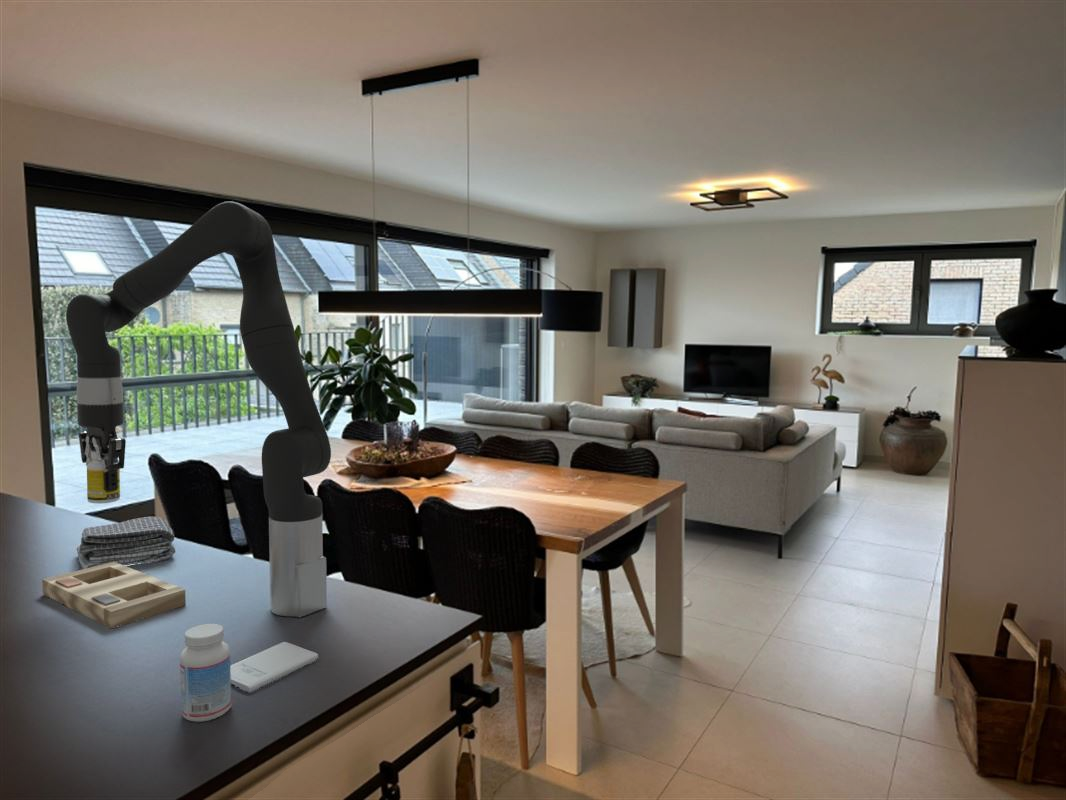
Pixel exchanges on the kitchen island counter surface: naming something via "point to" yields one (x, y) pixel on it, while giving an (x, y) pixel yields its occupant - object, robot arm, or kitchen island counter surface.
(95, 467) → the supplement bottle
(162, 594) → the socket holder
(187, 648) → the pill bottle
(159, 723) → the kitchen island counter surface
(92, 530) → the towel
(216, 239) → the robot arm
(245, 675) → the external hard drive
